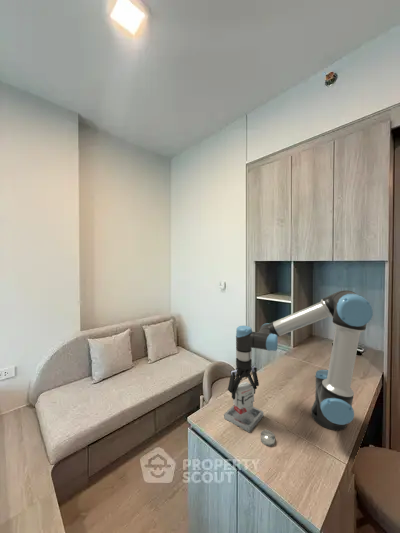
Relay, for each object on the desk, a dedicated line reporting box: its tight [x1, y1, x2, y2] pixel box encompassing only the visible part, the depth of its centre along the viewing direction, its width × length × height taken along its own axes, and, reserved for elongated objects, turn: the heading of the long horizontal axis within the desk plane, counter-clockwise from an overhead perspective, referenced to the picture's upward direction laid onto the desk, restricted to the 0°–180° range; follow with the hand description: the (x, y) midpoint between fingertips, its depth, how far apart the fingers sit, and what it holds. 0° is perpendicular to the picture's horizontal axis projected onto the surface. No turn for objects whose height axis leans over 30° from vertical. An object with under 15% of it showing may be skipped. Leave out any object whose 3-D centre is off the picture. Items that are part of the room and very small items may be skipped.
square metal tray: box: [223, 404, 264, 434], centre depth 111 cm, size 14×14×2 cm
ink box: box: [233, 381, 254, 415], centre depth 111 cm, size 8×5×12 cm, turn 119°
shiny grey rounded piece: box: [260, 429, 276, 447], centre depth 97 cm, size 6×6×2 cm
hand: (243, 402), depth 111 cm, fingers closed on ink box, 9 cm apart
